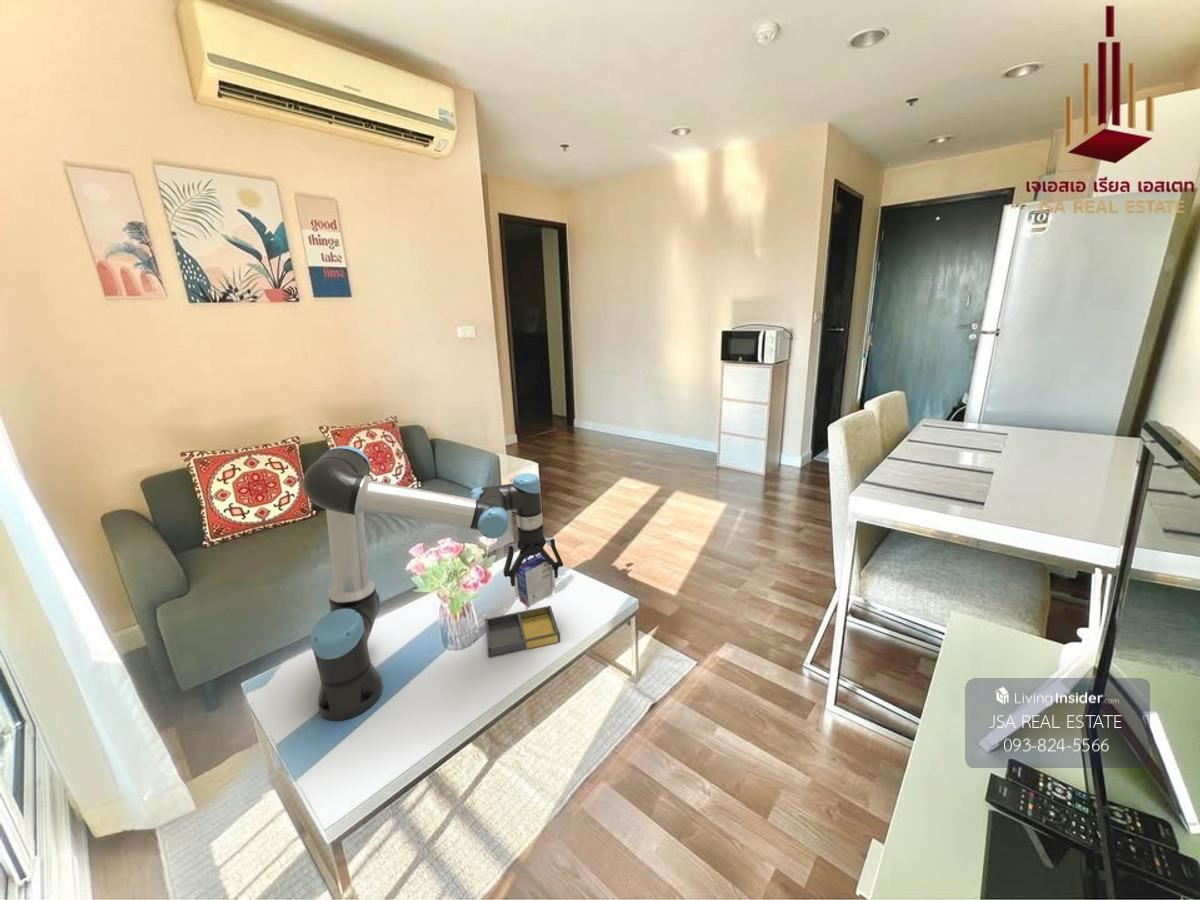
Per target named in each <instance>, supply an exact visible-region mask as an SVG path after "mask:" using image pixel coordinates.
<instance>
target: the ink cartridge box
mask: <svg viewBox="0 0 1200 900" xmlns="http://www.w3.org/2000/svg"><path fill="white" fill-rule="evenodd" d="M531 556H533V557H531ZM530 557H531V558H530ZM528 558H529V559H528ZM524 560H525V561H524V562H522V564H521V565H520V567H518V571H517V573H516V575H517V581H518V592H519V596H518V597H519V602H521V604H523V605H524V606H526V607H528V608H531V607H532V606H533V605H535V604H537V603H539V602H540V601H542V600H544V599H545V598H547V597H549V596H552V595H553V593H554V589H553V587H552V576H551V565H550V564H549V563H548V561H547V560H546V559H545V558H544V557H543V556H542V555H541V554H540V553H538V554H536V555H534V554H533V555H530V556H528V555H527V556H526V558H525V559H524Z"/></svg>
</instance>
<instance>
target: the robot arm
mask: <svg viewBox="0 0 1200 900" xmlns="http://www.w3.org/2000/svg"><path fill="white" fill-rule="evenodd" d="M370 473H371V462H370V460H369V458H368V456H367V455H366V454H365V453H364V452H363V451H362V450H360V449H359V448H356V447H354V446H351V445H350V446H349V445H338V446H335V447H333V448H331V449H329V450H327V451H325V452H324V453H323V454H322V455H321V456H320V457H319V459H317V460H316V461H315V462H314V463H312V464H311V465H310V466H309V467H308V468H307V470H306V471H305V473H304V475H303V479H302V488H303V492H304V494H305V496H306V497H307V498H308V500H310V501H311V502H312V503H313V504H314V505H316V506H318V507H320V508H322V509H325V511H326V514H325V515H326V521H327V530H328V531H327V533H328V542H329V543H328V544H329V550H330V558H331V559H330V560H331V562H330V563H331V570H332V578H333V586H332V587H331V588H330V589H329V592H328V600H329V601H328V602H329V603H328V605H329V612H328V613H326V614H325V617H321V618H319V619H318V621H316V623H315V624H314V625H313V627H312V629H311V633H310V644H311V645H310V646H311V650H312V652H313V655H314V658H315V663H316V666H317V669H318V674H319V678H320V689H319V693H318V694H319V695H318V701H317V705H318V710H319V714H320V715H321V716H322V717H323V718H325V719H327V720H330V721H343V720H344V721H345V720H348V719H351V718H354V717H356V716H358V715H360V714H361V715H362V713H365V712H366V711H367V710H369V709H370V708H371V707H372V706H374V705H375V704H376V703H377V701H379V698H380V697H381V696H382V693H383V690H384V683H383V679H382V676H381V674H380V673H379V671H378V670H377V669H376V667H375V666H374V665H373V664H372V662H371V656H370V651H369V647H368V646H369V645H368V643H369V639H370V635H371V632H372V630H373V627H374V624H375V622H376V618H377V616H378V615H379V612H380V611H379V610H380V608H381V596H380V592H379V591H378V589H377V588H376V583H375V582H374V581H373V580H371V579H370V578H369V568H368V567H369V565H368V554H367V553H368V552H367V543H366V542H367V540H366V528H365V516H364V513H368V514H369V513H370V514H375V515H382V516H387V517H388V516H389V517H394V518H402V519H408V520H413V521H414V520H415V521H422V522H426V523H432V524H440V525H444V526H445V525H446V526H453V527H458V528H463V529H464V528H465V529H470V530H475V531H479V532H480V534H481V535H482V536H483V537H485V538H487V539H491V540H492V539H493V540H494V539H498V538H500V537H502V536H503V535H505V534H506V532H507V531H508V528H509V522H510V521H509V520H510V518H509V517H510V516H509V512H508V511H514V510H515V514H516V515H515V516H516V527H517V538H518V539H517V540H518V541H517V542H516V543H511V542H510V543H508V544H507V548H508V552H507V555H506V560H505V563H504V568H503V570H502V571H503V576H504V577H505V578H507V577H509V578H510V579H509V580H510V584H511V585H510V586H511V587H514V592H515V596H516V597H519V591H518V581H517V575H516V573H517V571H518V567H520V565H521V564H522V563H523V561H524V560H526V559H525V558H526V556H527V555H528V556H530V555H533V554H534V555H536V556H537V555H539V554H541V555H542V556H543V557H544V558H545V559H546V560H547V561H548V563H549V564H550V565H551V576H552V588H553V590H556V579H558V578H559V568H562V567H564V562H563V560H562V558H561V556H560V554H559V552H558V550H557V548H556V547H557V546H556V541H555V538H554V536H549V537H548V538H545V536H544V535H545V533H544V525H543V523H544V519H543V510H542V509H543V508H542V507H543V506H542V494H541V493H542V491H541V484H540V483H541V482H540V477H539V476H538V475H536V474H534V473H529V472H528V473H527V472H526V473H520V474H517V475H515V476H514V477H513V480H512V483H508V484H507V483H506V484H499V485H498V484H497V485H487V486H485V485H483V486H480V487H475V488H472V489H471V491H470V497H464V496H458V495H452V494H448V493H441V492H437V491H432V490H431V491H430V490H426V489H425V490H424V489H419V488H415V487H410V486H409V487H408V486H405V485H403V486H402V485H397V484H393V483H386V482H382V481H375V480H372V479H371V478H370ZM546 544H547V546H550V548H551V550H552V552H553V555H554V556H555V557H554V558H556V561H555V560H554V559H553V558H552V557H551V555H550V554H549V553H548V552H547V551H546V550H545V549H544V547H545V545H546ZM517 549H519V554H518V556H517V558H516V559H515V561H514V563H513V565H512V562H513V560H514V554H515V552H516V551H517ZM530 557H531V556H530ZM511 566H512V567H511Z"/></svg>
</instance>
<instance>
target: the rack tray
mask: <svg viewBox="0 0 1200 900" xmlns="http://www.w3.org/2000/svg"><path fill="white" fill-rule="evenodd" d="M484 622H485V633H486V642H487V652H488V658H494V657H499V656H503V655H507V654H511V653H515V652H520V651H524V650H529V649H535V648H538V647H541V646H547V645H551V644H552V645H553V644H555V643H560V642H561V633H560V630H559V627H558V624H557V622H556V618H555V615H554V611H553V609H552V607H551V605H546V606H542V607H536V608H533V609H528V610H523V611H518V612H512V613H508V614H502V615H499V616H497V615H496V616H494V617H492V616H491V617H488V618H484Z"/></svg>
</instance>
